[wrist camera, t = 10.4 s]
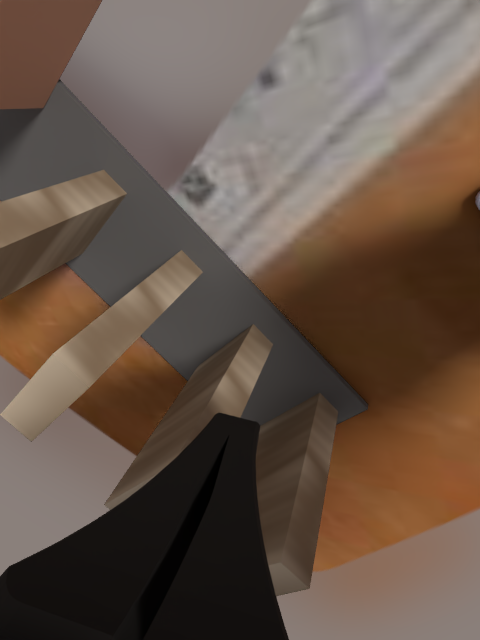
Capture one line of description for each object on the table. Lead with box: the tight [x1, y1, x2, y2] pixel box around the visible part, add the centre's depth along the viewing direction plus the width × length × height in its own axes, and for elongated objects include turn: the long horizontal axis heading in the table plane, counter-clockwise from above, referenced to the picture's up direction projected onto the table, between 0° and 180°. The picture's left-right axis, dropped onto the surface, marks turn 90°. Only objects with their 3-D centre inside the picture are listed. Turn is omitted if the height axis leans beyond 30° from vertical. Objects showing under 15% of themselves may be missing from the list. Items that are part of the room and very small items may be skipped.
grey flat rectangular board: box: [0, 80, 368, 426], centre depth 23 cm, size 8×26×1 cm, turn 46°
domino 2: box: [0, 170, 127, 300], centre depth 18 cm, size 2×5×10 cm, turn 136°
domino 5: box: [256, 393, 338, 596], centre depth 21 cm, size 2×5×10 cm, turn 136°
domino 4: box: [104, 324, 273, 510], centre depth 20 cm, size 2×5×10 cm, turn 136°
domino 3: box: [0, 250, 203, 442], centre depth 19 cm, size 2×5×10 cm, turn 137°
